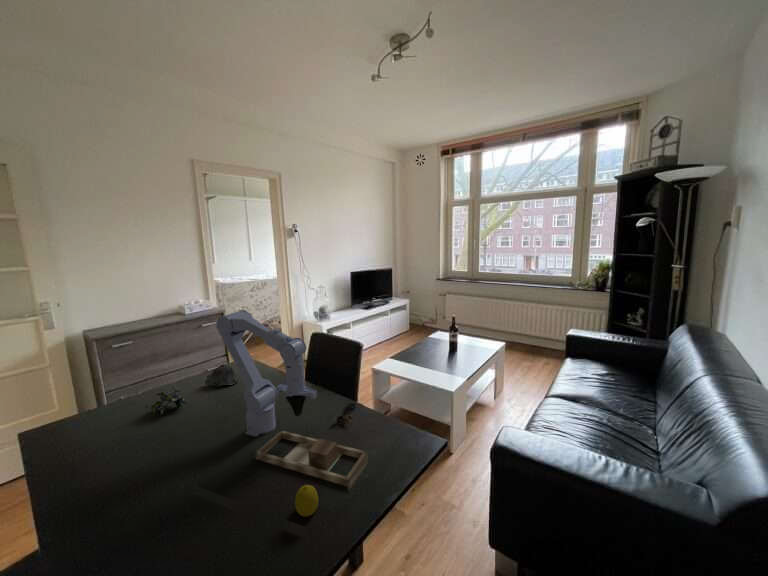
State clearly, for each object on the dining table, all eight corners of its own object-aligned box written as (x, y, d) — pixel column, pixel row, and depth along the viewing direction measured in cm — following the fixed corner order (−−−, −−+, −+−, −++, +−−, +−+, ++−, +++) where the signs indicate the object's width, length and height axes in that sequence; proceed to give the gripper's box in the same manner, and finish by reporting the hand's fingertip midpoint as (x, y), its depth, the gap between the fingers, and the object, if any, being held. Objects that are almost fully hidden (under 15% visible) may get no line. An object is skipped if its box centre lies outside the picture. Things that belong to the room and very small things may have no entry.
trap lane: (256, 463, 99) (255, 452, 98) (282, 439, 109) (281, 430, 109) (348, 491, 86) (348, 480, 86) (367, 462, 97) (367, 451, 97)
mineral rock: (203, 386, 151) (201, 366, 149) (223, 377, 160) (220, 358, 159) (223, 391, 146) (221, 370, 144) (242, 381, 155) (240, 361, 154)
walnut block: (309, 466, 94) (308, 450, 94) (320, 453, 100) (319, 438, 99) (326, 471, 92) (325, 455, 91) (337, 457, 98) (336, 442, 97)
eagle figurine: (357, 426, 114) (360, 408, 122) (345, 413, 112) (349, 395, 120) (340, 435, 116) (344, 417, 124) (328, 422, 114) (333, 405, 122)
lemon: (298, 506, 82) (296, 479, 81) (320, 504, 83) (318, 477, 81) (294, 526, 77) (291, 496, 75) (317, 523, 77) (315, 494, 76)
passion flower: (180, 419, 134) (194, 396, 133) (156, 429, 123) (171, 405, 122) (162, 401, 136) (176, 379, 135) (137, 410, 126) (152, 386, 124)
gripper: (269, 378, 104) (272, 416, 107) (306, 384, 99) (309, 425, 101) (283, 369, 111) (286, 406, 113) (319, 375, 105) (322, 413, 107)
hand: (298, 414), depth 107 cm, fingers closed
